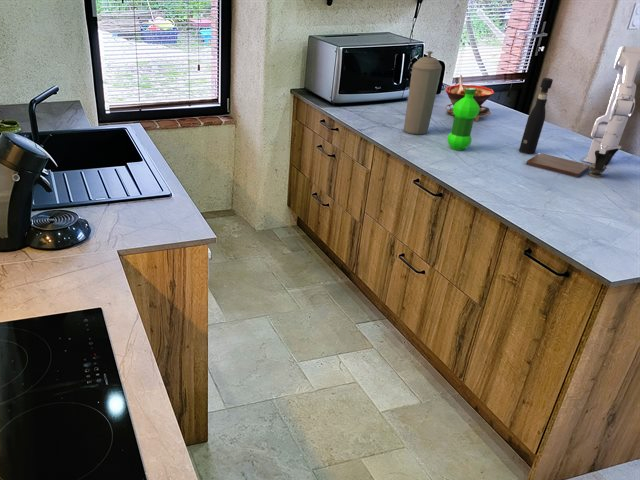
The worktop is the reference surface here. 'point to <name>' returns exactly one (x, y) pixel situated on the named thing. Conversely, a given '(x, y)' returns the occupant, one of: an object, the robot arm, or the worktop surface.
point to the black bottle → (535, 120)
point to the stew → (480, 97)
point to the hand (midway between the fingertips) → (601, 167)
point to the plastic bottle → (463, 120)
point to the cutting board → (558, 165)
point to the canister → (422, 94)
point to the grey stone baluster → (596, 171)
